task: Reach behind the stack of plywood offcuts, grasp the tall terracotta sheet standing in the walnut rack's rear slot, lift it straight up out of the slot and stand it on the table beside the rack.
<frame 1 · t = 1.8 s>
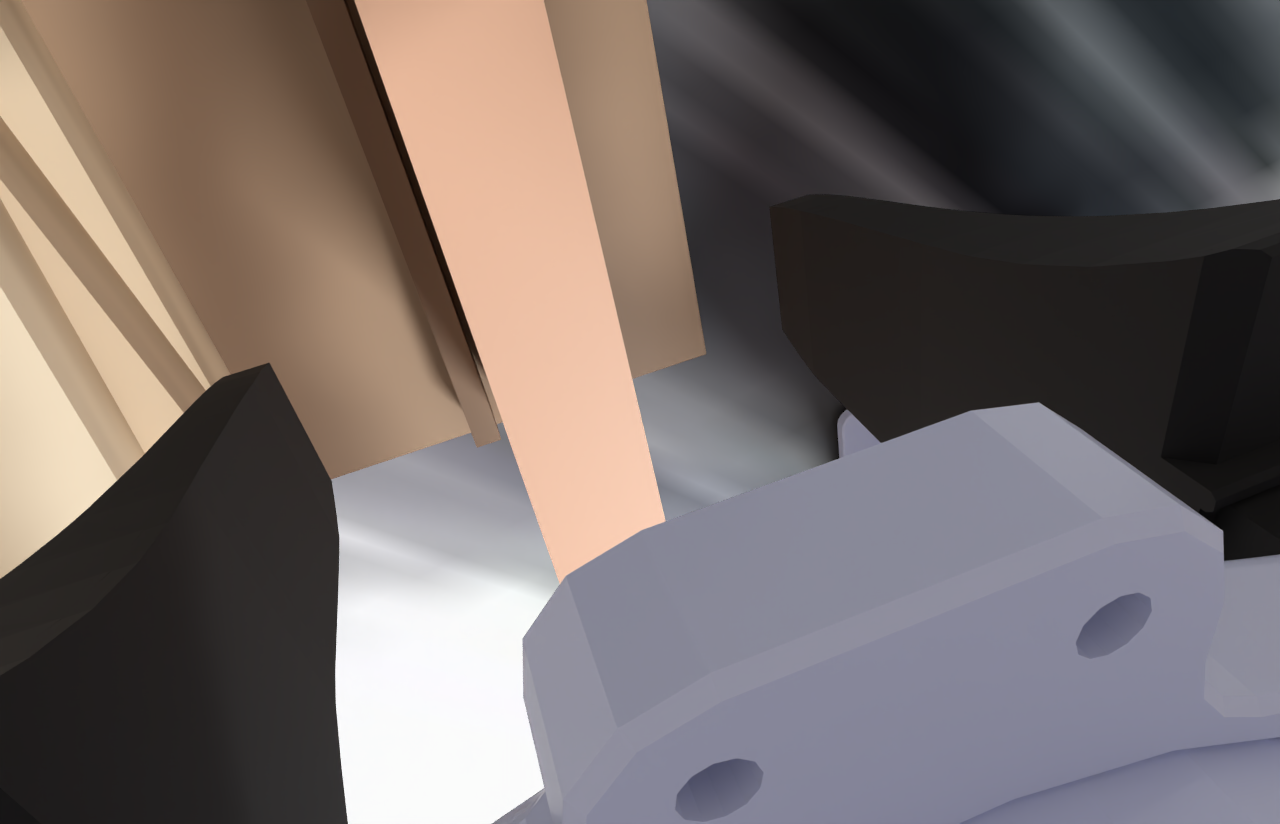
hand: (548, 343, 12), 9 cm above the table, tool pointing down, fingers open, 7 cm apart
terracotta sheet: (476, 186, 18), point 1 cm above the table, touching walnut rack
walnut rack: (251, 237, 18), on the table
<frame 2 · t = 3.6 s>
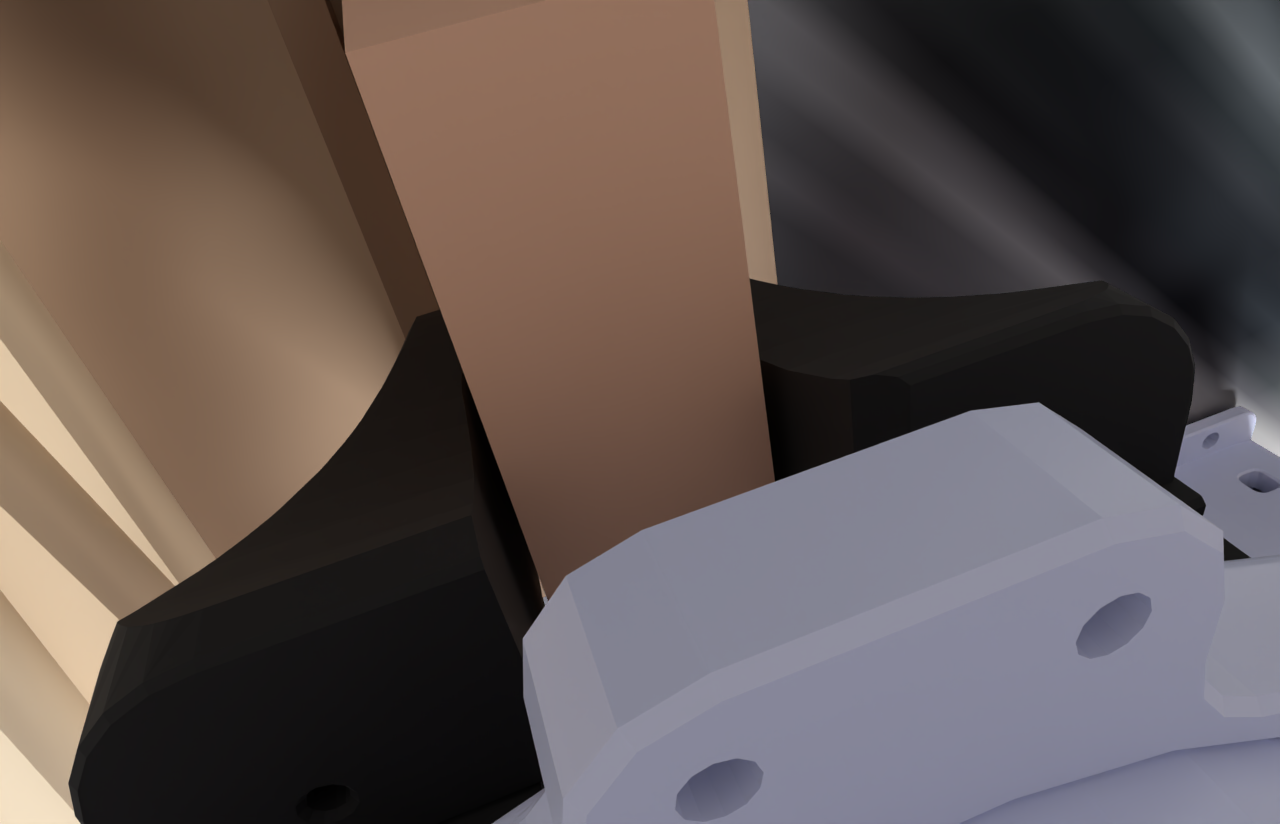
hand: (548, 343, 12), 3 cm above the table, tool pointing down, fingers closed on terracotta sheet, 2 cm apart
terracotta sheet: (518, 279, 14), point 1 cm above the table, touching gripper, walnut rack
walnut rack: (218, 346, 14), on the table
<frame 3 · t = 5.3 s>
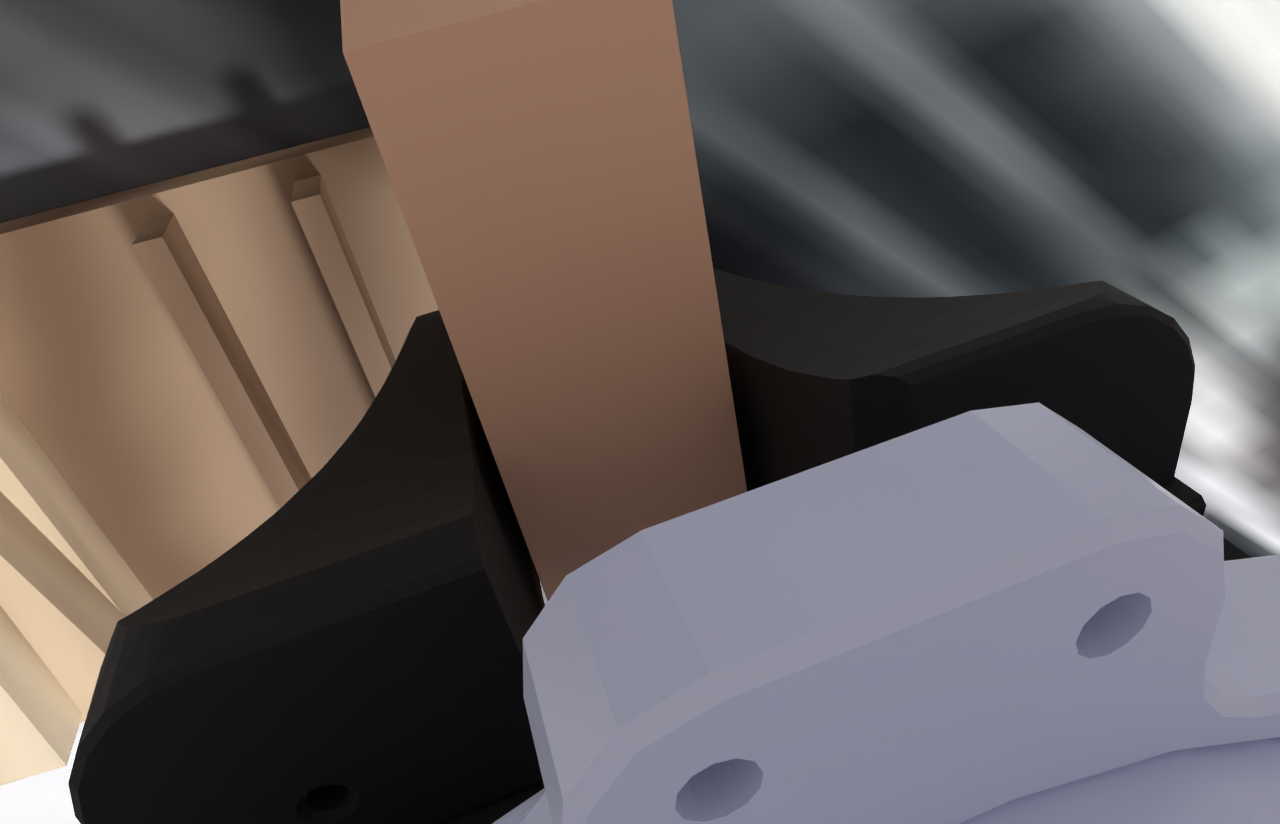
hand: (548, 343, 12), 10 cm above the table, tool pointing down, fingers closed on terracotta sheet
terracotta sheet: (510, 268, 14), point 7 cm above the table, touching gripper
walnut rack: (137, 442, 21), on the table
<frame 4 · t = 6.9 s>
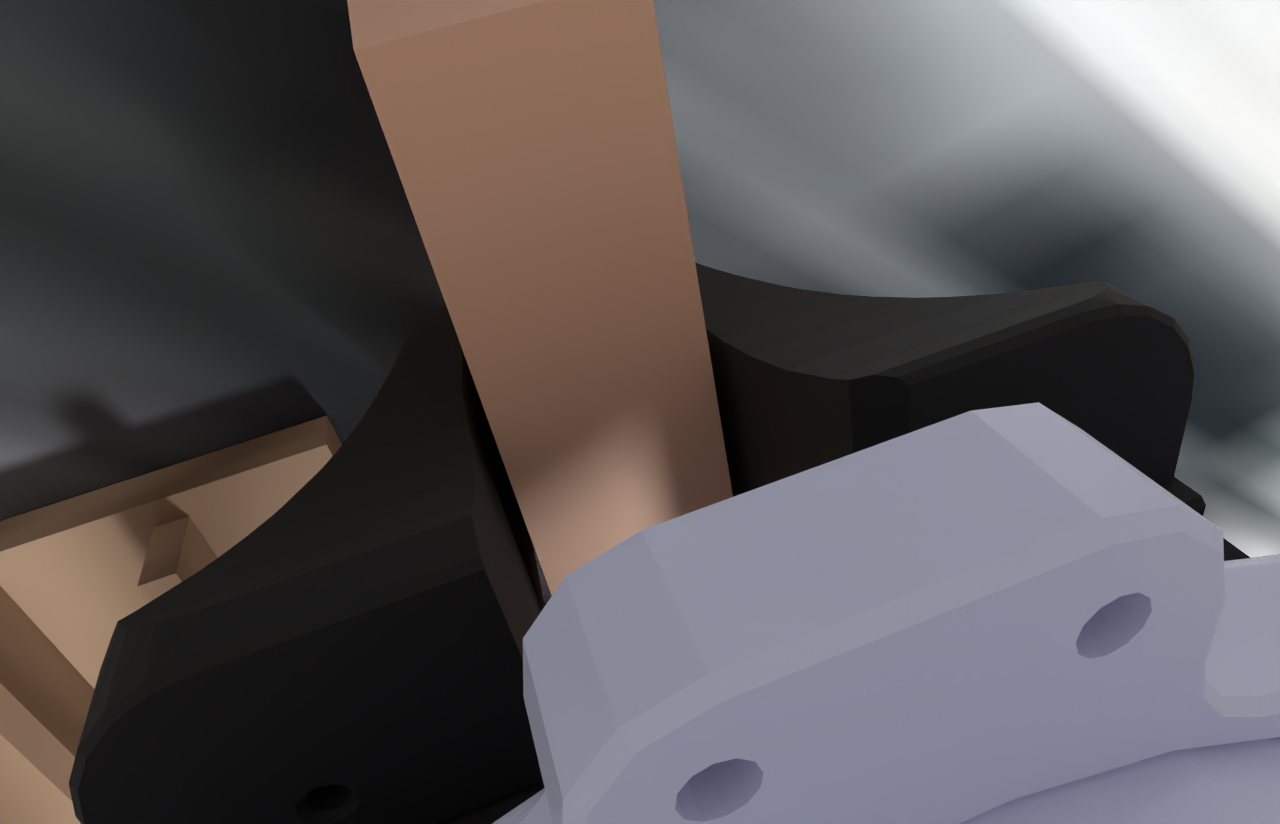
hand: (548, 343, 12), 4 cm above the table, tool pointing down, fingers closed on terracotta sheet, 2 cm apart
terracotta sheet: (507, 258, 15), on the table, touching gripper
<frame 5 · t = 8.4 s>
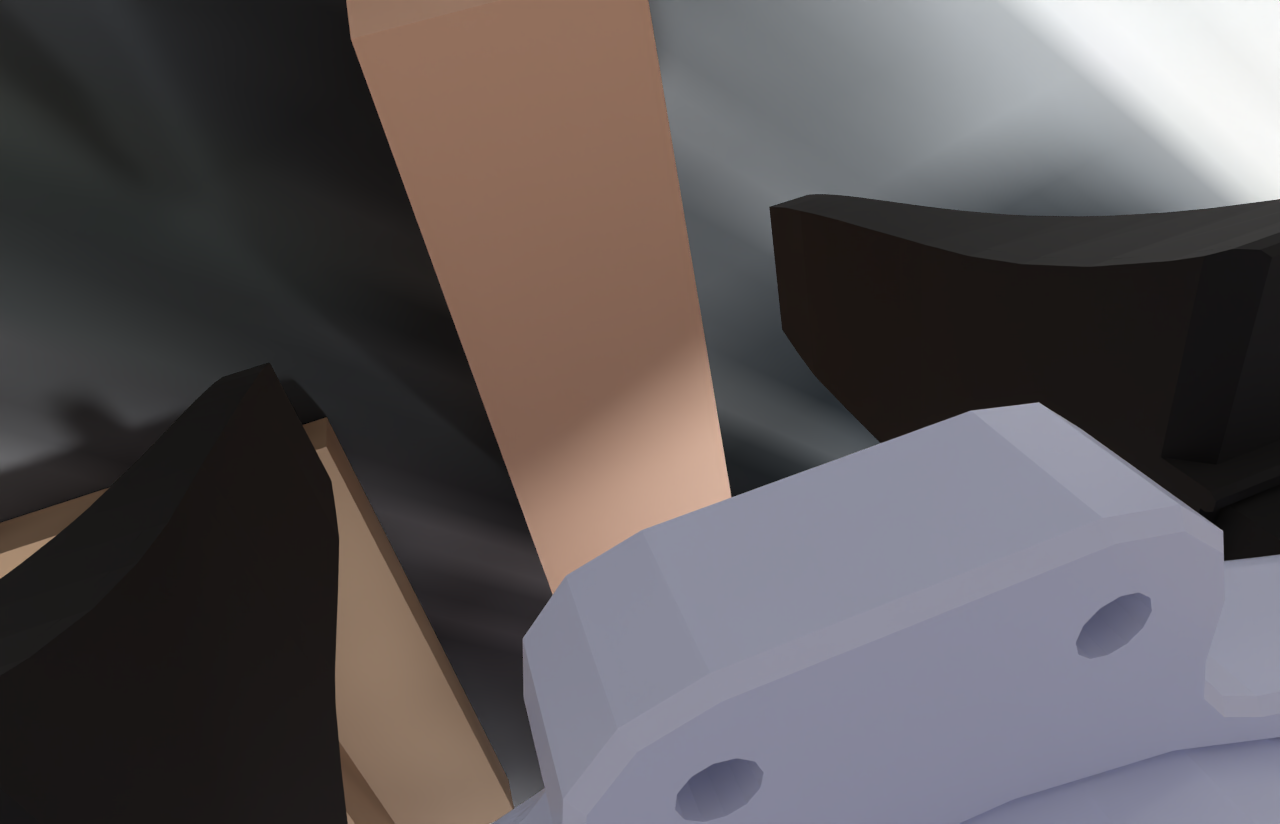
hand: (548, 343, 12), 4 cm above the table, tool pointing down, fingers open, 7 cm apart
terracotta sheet: (506, 257, 15), on the table
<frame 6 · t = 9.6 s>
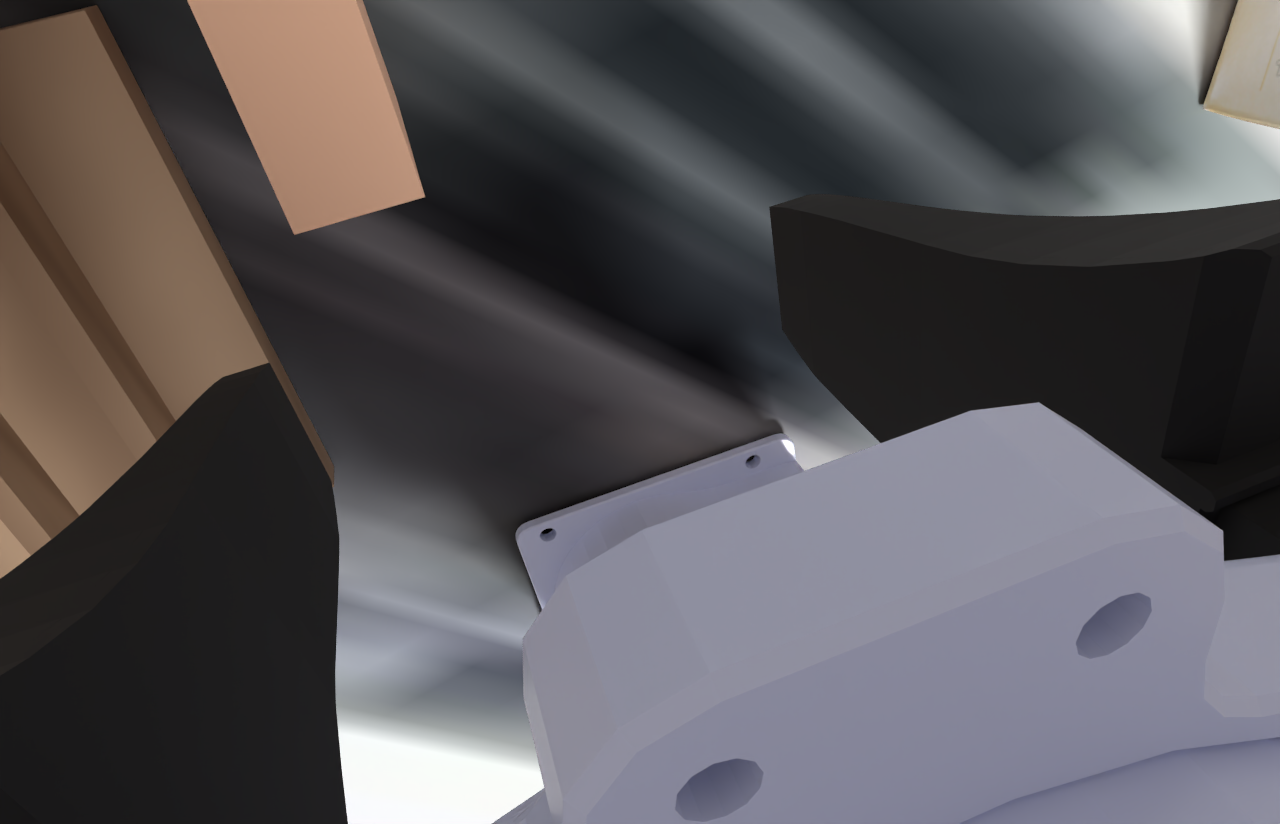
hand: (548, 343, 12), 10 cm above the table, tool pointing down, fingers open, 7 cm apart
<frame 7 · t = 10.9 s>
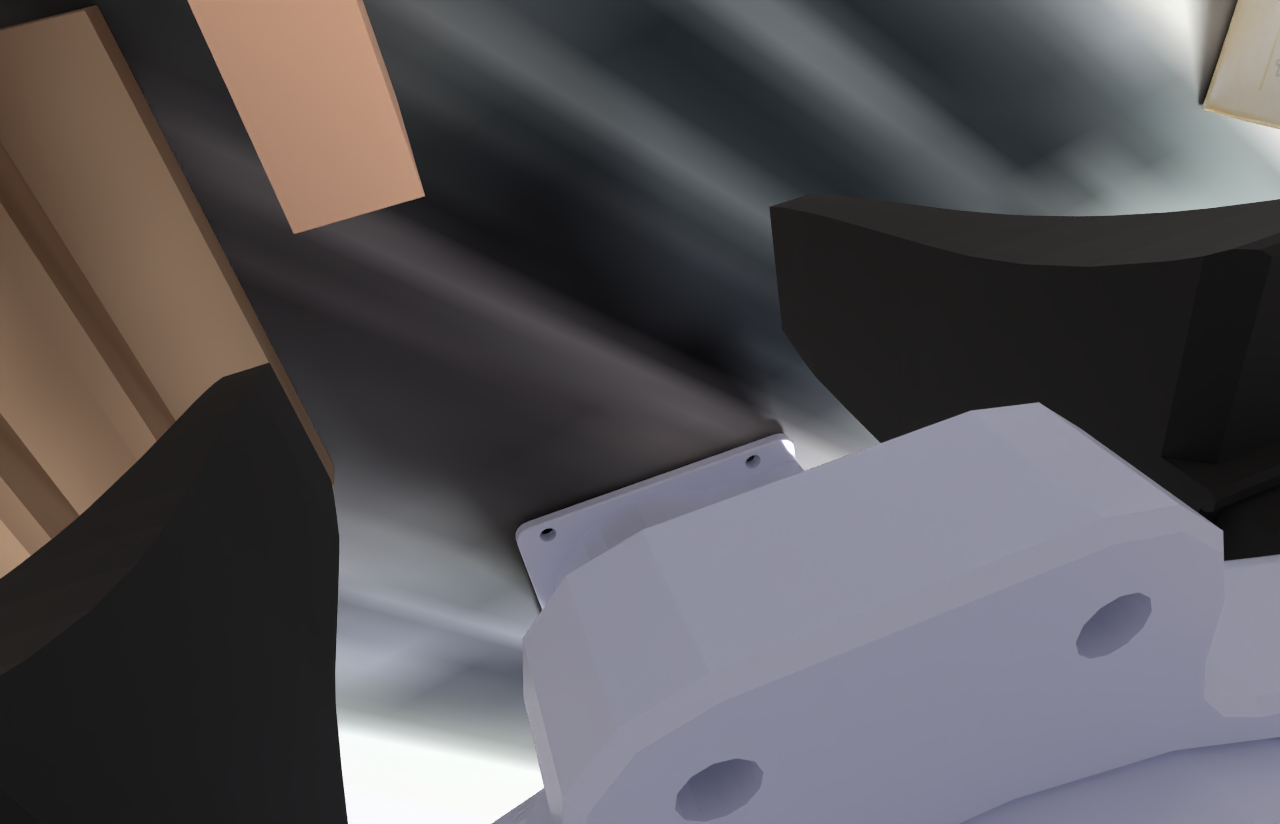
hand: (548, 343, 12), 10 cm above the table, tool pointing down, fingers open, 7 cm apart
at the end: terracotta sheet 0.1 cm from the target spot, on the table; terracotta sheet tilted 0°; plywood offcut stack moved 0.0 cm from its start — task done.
